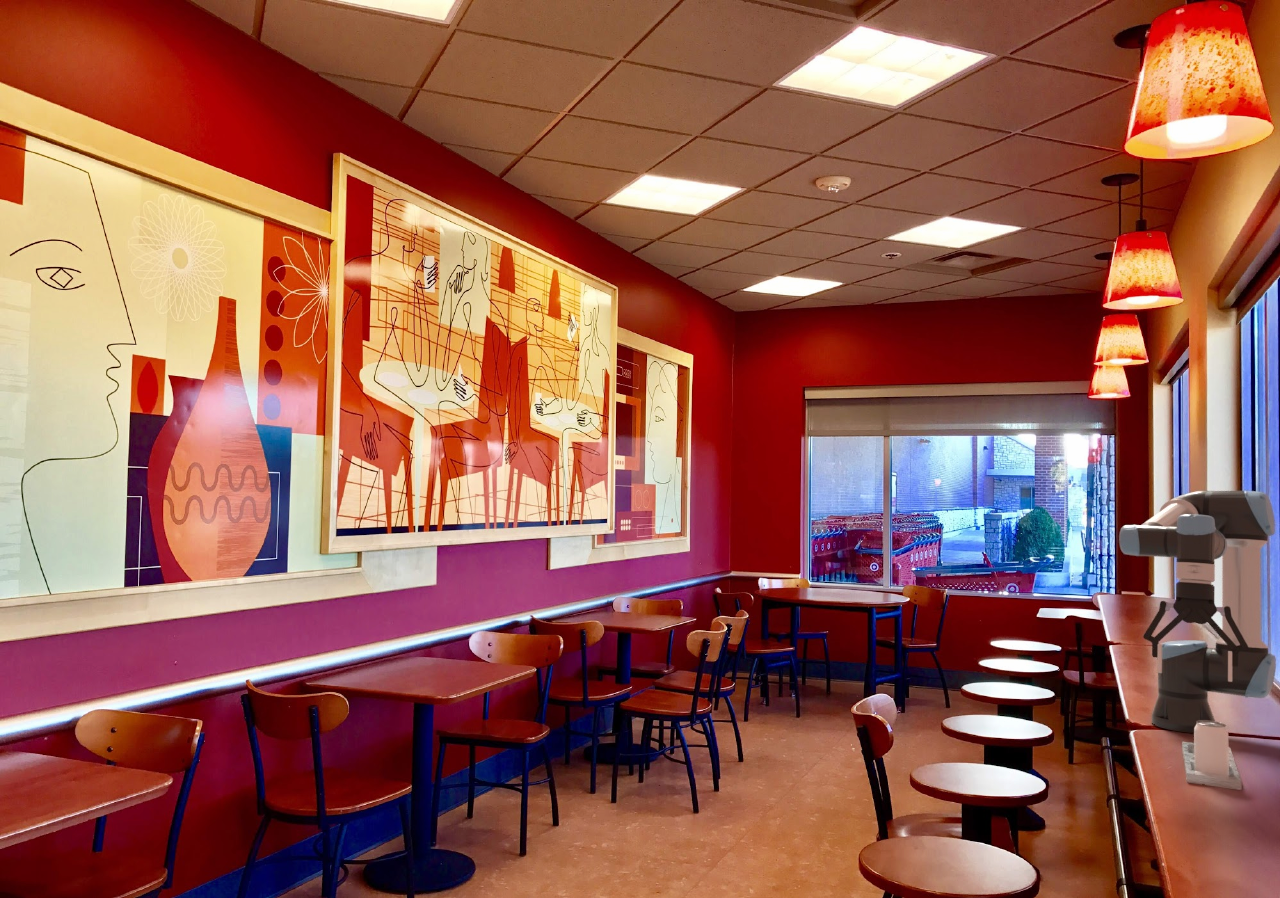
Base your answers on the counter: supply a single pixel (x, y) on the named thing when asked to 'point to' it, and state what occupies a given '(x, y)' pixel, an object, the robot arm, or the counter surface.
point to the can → (1211, 747)
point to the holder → (1209, 778)
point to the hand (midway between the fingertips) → (1194, 677)
